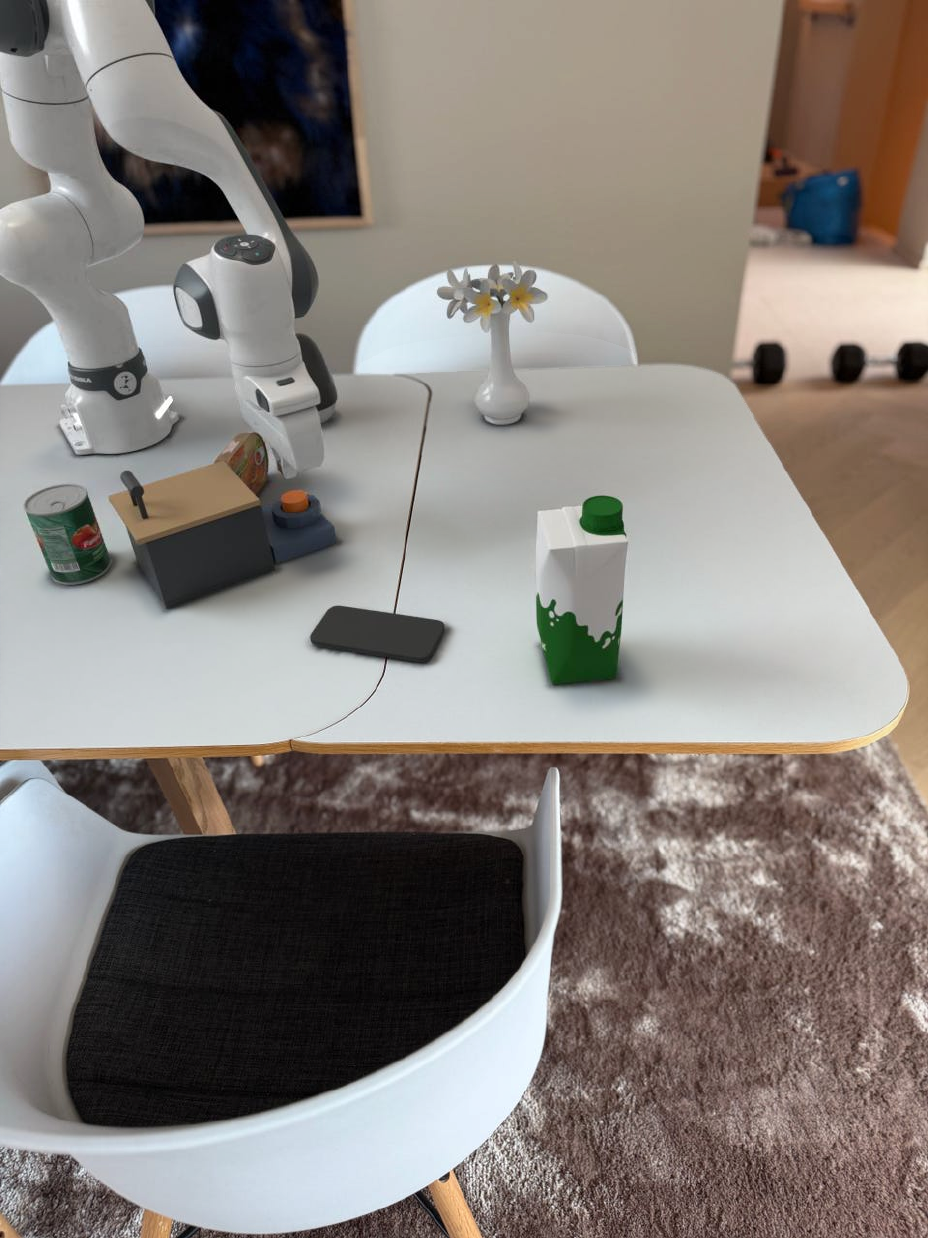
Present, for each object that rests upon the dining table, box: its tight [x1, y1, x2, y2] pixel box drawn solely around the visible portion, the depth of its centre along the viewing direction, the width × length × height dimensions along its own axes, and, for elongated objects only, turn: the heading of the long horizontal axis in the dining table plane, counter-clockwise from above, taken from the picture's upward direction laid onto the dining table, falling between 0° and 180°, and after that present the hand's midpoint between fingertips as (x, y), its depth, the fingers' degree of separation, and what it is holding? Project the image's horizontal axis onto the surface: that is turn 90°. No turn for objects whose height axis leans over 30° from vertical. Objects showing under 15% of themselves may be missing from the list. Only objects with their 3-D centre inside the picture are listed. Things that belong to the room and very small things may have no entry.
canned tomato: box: [23, 483, 112, 586], centre depth 121 cm, size 8×8×11 cm
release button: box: [280, 489, 309, 513], centre depth 125 cm, size 4×4×2 cm
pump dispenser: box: [295, 332, 339, 424], centre depth 153 cm, size 10×10×15 cm
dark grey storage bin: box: [125, 504, 276, 610], centre depth 120 cm, size 15×13×10 cm
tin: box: [213, 431, 270, 496], centre depth 135 cm, size 15×3×8 cm, turn 168°
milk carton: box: [535, 494, 629, 686], centre depth 96 cm, size 9×9×20 cm
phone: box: [309, 605, 446, 663], centre depth 108 cm, size 7×1×15 cm
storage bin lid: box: [107, 461, 262, 545], centre depth 115 cm, size 16×13×5 cm
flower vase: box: [436, 260, 549, 426], centre depth 147 cm, size 13×18×25 cm
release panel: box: [261, 493, 337, 565], centre depth 126 cm, size 9×11×4 cm
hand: (287, 473), depth 123 cm, fingers closed
